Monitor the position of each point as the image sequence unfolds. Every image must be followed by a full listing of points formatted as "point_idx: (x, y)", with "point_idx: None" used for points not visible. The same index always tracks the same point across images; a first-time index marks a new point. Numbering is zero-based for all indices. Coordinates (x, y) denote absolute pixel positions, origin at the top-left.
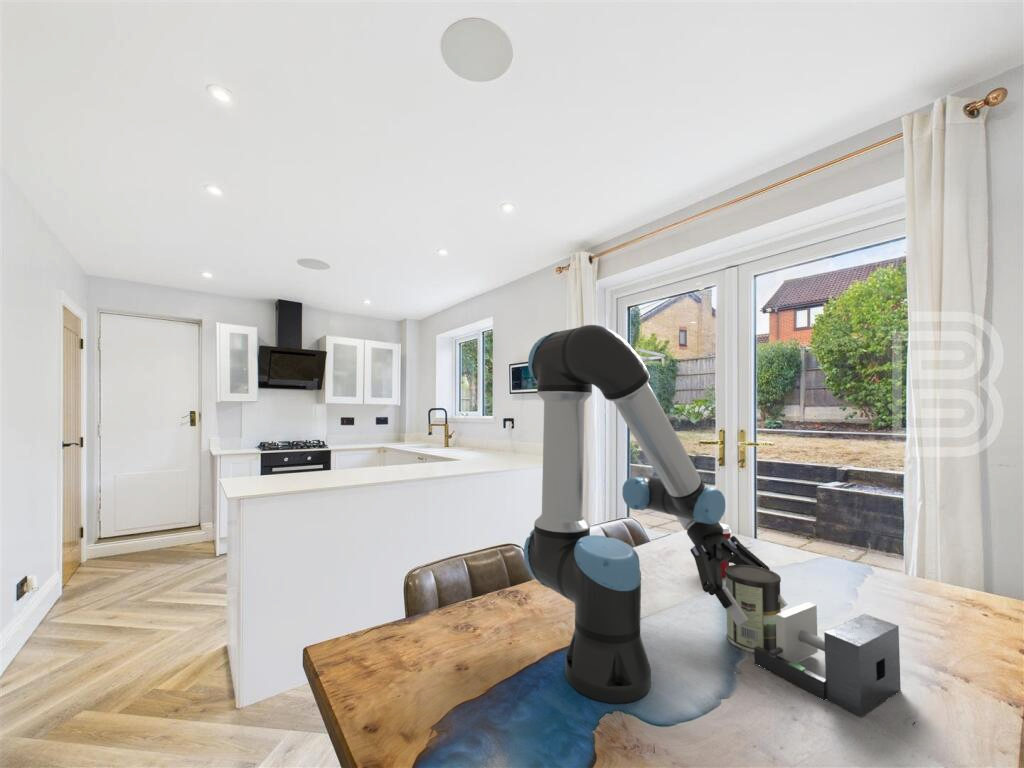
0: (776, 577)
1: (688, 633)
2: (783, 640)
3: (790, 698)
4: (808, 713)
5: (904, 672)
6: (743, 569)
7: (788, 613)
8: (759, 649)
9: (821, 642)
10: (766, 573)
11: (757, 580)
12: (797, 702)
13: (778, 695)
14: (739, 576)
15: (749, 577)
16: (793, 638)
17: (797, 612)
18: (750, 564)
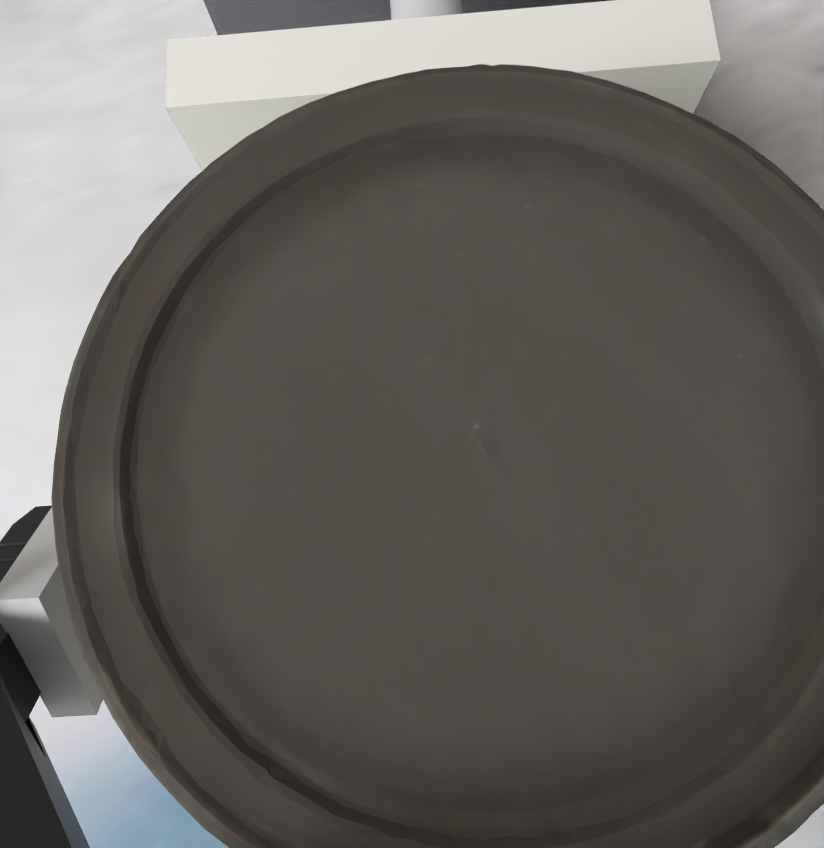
0: (298, 159)
1: (814, 828)
2: None
3: (770, 108)
4: (789, 22)
5: (43, 30)
6: (434, 658)
7: (591, 28)
8: None
9: (454, 8)
10: (249, 348)
11: (668, 214)
12: (765, 80)
13: (807, 142)
14: (811, 448)
15: (687, 342)
16: None
17: (493, 11)
18: (43, 797)
